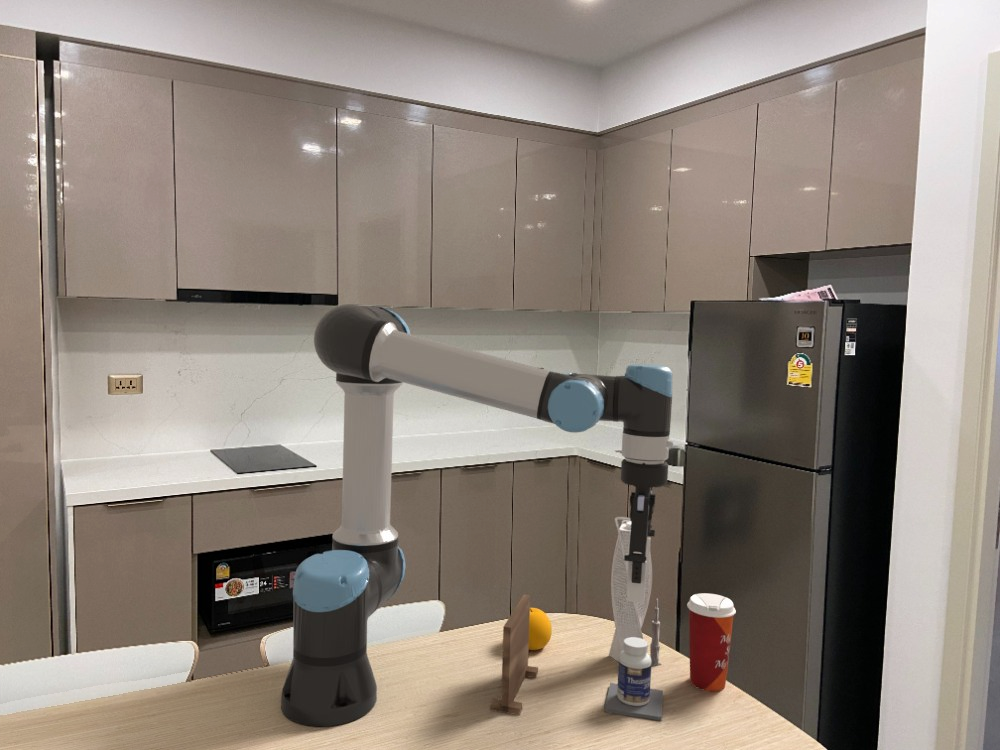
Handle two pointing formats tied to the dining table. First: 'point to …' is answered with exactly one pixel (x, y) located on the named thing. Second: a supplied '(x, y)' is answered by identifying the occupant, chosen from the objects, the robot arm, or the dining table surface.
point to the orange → (538, 629)
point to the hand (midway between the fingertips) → (638, 587)
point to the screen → (515, 658)
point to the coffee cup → (709, 640)
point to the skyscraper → (626, 612)
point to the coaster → (645, 711)
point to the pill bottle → (634, 672)
